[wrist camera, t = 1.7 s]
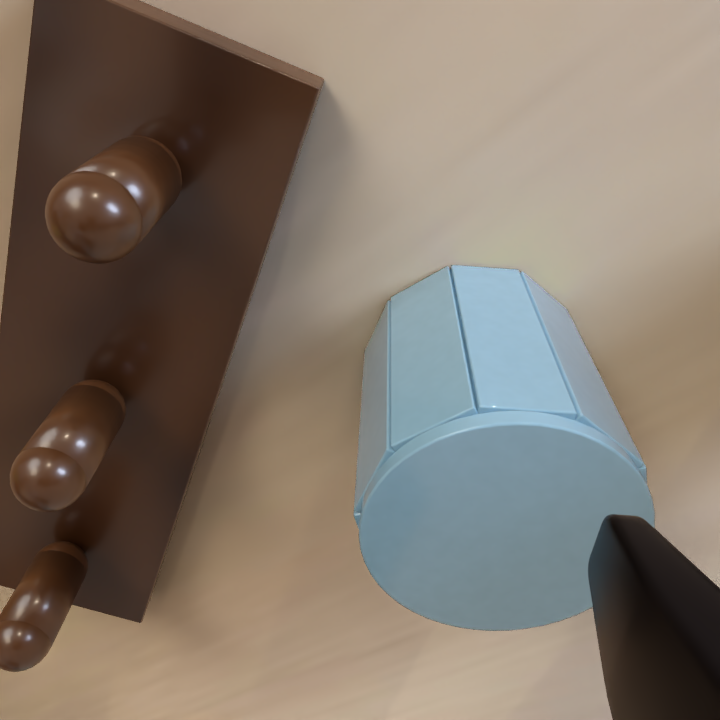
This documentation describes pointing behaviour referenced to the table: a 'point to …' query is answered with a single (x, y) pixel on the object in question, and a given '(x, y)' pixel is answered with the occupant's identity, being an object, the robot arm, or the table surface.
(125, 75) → the rack
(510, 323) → the cup
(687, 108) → the table surface
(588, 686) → the table surface
